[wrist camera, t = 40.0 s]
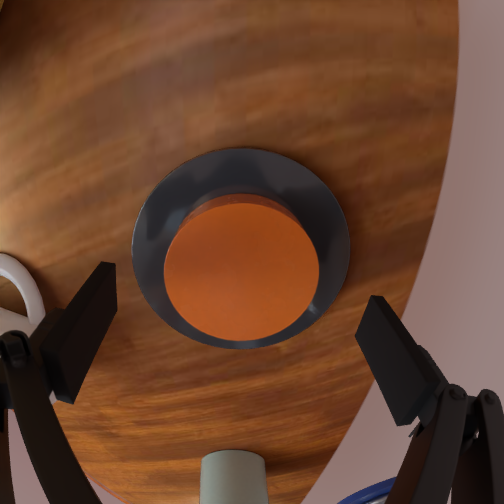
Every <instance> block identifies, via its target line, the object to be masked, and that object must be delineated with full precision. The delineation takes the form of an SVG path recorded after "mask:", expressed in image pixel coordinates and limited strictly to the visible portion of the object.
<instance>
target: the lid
mask: <svg viewBox="0 0 504 504" xmlns="http://www.w3.org/2000/svg"><path fill="white" fill-rule="evenodd" d="M318 279H319V263H318V257H317V254H316V251H315V248H314V246H313V244H312V241H311V239H310V238H309V236H308V234H307V233H306V231H305V229H304V228H303V226H302V225H301V223H300V222H299V220H298V219H297V218H296V217H295V216H294V215H293V214H292V213H291V212H290V211H289V210H288V209H286V208H285V207H284V206H282V205H281V204H279V203H277V202H276V201H273V200H271V199H269V198H266V197H263V196H259V195H254V194H242V193H237V194H228V195H224V196H220V197H217V198H214V199H212V200H209V201H207V202H205V203H203V204H202V205H200V206H199V207H197V208H196V209H195V210H193V211H192V212H191V213H190V214H189V215H188V216H187V217H186V218H185V219H184V221H183V222H182V223H181V225H180V226H179V228H178V230H177V232H176V234H175V236H174V238H173V240H172V242H171V245H170V247H169V249H168V252H167V255H166V259H165V264H164V281H165V286H166V290H167V293H168V296H169V298H170V300H171V302H172V304H173V306H174V307H175V309H176V310H177V311H178V313H179V314H180V315H181V316H182V317H183V318H184V319H185V320H186V321H187V322H188V323H190V324H191V325H192V326H193V327H195V328H197V329H198V330H200V331H202V332H204V333H206V334H208V335H211V336H214V337H217V338H221V339H226V340H234V341H247V340H256V339H260V338H264V337H267V336H270V335H273V334H275V333H277V332H280V331H281V330H283V329H285V328H286V327H288V326H289V325H291V324H292V323H293V322H295V321H296V320H297V319H298V318H299V317H300V316H301V315H302V314H303V312H304V311H305V310H306V309H307V307H308V306H309V304H310V302H311V301H312V299H313V296H314V294H315V292H316V288H317V285H318Z"/></svg>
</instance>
